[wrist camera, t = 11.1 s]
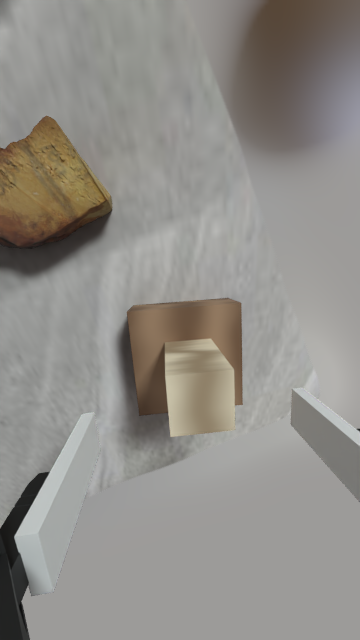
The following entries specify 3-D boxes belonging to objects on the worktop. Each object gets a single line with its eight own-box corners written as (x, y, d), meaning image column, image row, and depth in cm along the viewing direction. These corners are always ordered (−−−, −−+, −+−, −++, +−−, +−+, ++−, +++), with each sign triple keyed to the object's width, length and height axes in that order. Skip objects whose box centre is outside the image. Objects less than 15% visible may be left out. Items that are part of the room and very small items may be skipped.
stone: (80, 132, 23) (56, 94, 18) (119, 218, 25) (107, 205, 20) (-46, 190, 24) (-103, 167, 19) (3, 270, 26) (-37, 269, 21)
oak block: (168, 385, 24) (170, 437, 17) (164, 342, 23) (165, 376, 15) (212, 381, 25) (235, 429, 17) (210, 338, 24) (234, 369, 16)
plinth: (143, 392, 30) (139, 415, 25) (133, 305, 27) (126, 312, 22) (229, 383, 30) (242, 404, 26) (227, 298, 28) (241, 302, 23)
